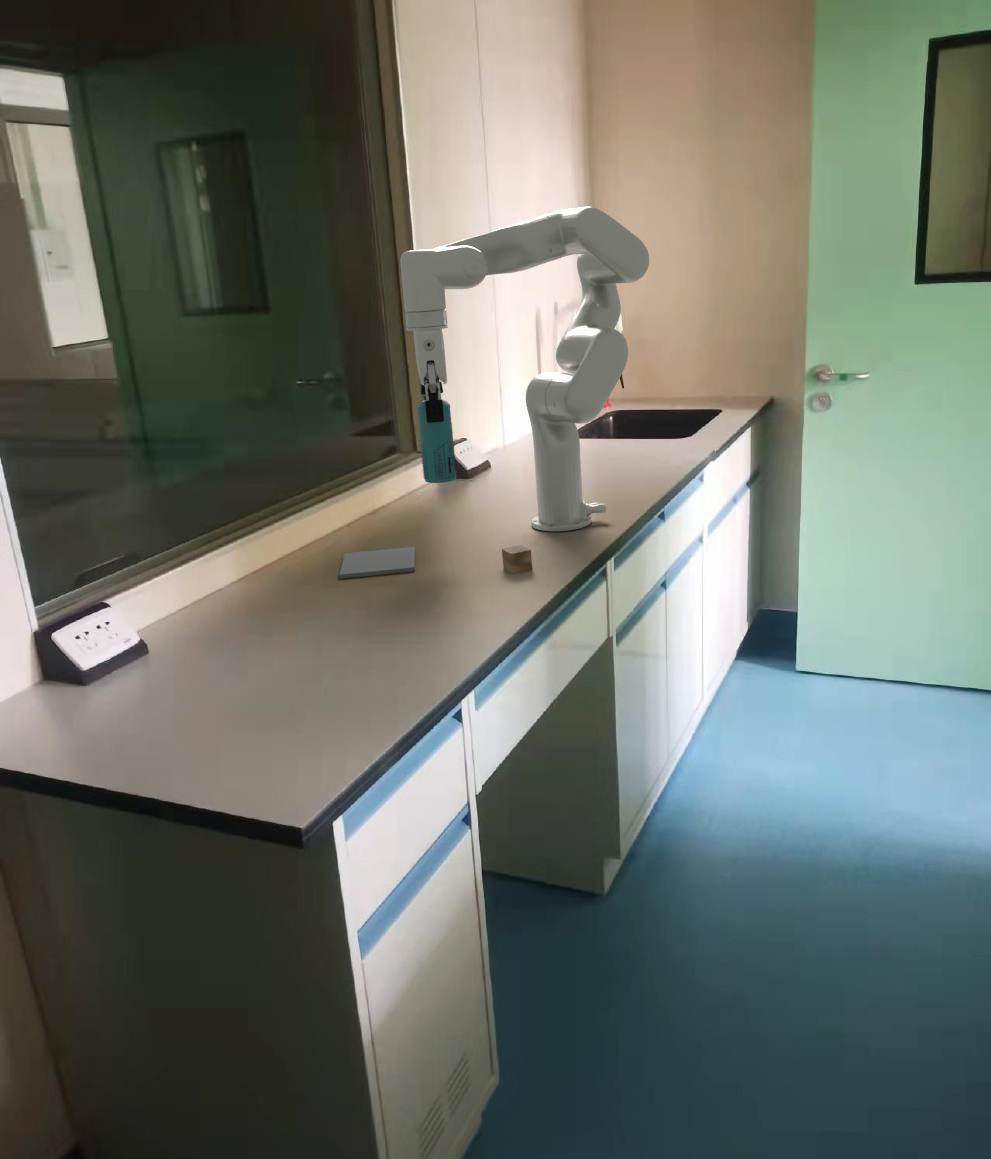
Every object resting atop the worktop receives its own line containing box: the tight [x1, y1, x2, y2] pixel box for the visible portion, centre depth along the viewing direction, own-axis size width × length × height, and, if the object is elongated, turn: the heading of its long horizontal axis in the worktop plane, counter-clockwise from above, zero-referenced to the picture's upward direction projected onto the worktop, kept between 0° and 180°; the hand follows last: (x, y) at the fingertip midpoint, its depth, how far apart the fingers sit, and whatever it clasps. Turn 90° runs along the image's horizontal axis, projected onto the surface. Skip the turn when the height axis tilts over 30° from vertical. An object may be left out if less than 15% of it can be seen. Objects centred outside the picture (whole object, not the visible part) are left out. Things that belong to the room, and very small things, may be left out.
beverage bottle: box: [416, 381, 458, 484], centre depth 186 cm, size 6×7×20 cm
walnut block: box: [501, 544, 533, 575], centre depth 181 cm, size 4×4×4 cm
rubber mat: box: [339, 546, 416, 579], centre depth 191 cm, size 14×14×1 cm
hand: (434, 418), depth 185 cm, fingers closed on beverage bottle, 6 cm apart
